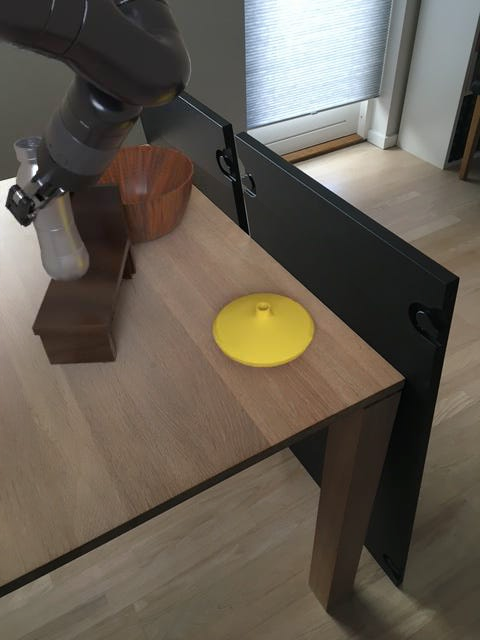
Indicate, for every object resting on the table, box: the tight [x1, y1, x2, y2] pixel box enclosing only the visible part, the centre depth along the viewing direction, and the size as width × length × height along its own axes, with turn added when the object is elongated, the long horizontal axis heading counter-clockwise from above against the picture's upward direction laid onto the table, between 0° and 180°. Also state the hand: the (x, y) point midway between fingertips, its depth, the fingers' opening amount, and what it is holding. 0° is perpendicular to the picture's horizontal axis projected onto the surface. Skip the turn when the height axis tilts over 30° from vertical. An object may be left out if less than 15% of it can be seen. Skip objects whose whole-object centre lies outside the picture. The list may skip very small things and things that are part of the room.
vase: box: [212, 292, 315, 368], centre depth 83 cm, size 16×16×7 cm
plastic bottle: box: [13, 136, 90, 282], centre depth 72 cm, size 6×7×20 cm
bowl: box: [96, 144, 194, 244], centre depth 109 cm, size 25×25×11 cm
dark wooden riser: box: [31, 183, 137, 365], centre depth 86 cm, size 24×11×18 cm, turn 1°
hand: (42, 209), depth 73 cm, fingers closed on plastic bottle, 6 cm apart
